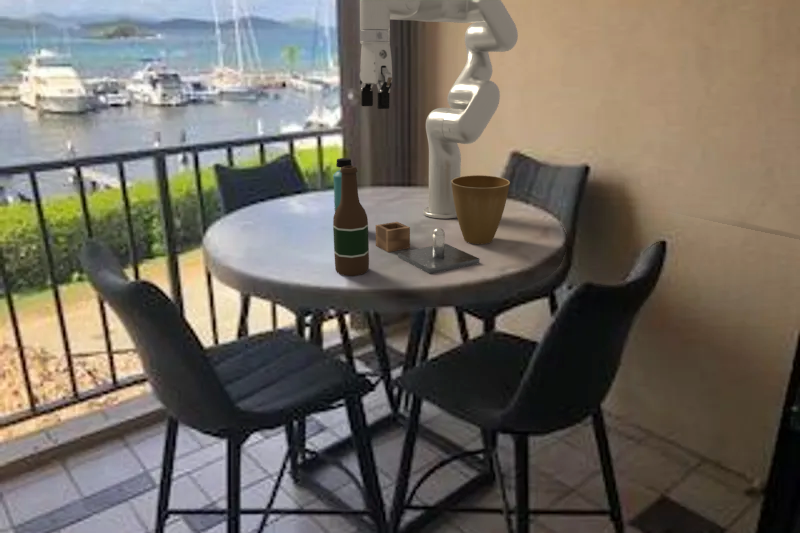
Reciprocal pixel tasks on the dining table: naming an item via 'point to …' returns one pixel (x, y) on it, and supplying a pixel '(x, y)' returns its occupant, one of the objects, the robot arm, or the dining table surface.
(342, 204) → the beer bottle
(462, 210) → the plant pot
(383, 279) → the dining table surface
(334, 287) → the dining table surface
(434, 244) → the post block
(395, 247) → the walnut collar
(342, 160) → the beverage bottle
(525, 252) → the dining table surface
